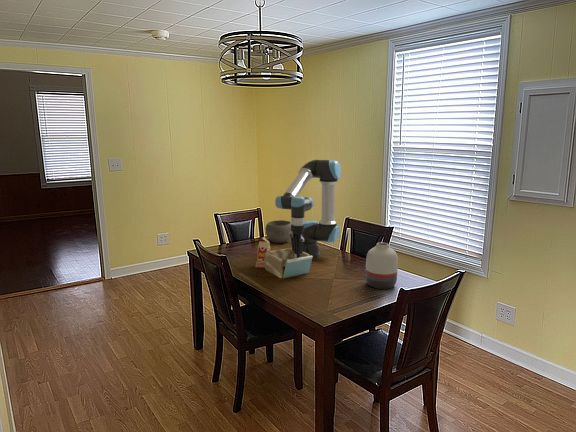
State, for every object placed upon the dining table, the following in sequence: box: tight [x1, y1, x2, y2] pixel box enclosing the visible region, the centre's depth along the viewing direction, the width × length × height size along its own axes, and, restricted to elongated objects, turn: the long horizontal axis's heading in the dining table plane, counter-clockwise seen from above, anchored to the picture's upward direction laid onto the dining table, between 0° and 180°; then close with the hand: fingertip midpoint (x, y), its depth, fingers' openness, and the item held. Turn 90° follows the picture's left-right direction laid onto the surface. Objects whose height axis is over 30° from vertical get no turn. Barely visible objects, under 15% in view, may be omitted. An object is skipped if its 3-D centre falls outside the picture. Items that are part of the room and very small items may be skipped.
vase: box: [365, 241, 399, 290], centre depth 233 cm, size 17×17×24 cm
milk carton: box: [255, 236, 272, 269], centre depth 264 cm, size 9×9×20 cm
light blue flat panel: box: [281, 255, 314, 279], centre depth 245 cm, size 18×1×13 cm, turn 122°
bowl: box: [265, 219, 292, 244], centre depth 323 cm, size 21×21×15 cm
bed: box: [264, 247, 310, 279], centre depth 255 cm, size 20×18×12 cm
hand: (297, 264), depth 245 cm, fingers closed
